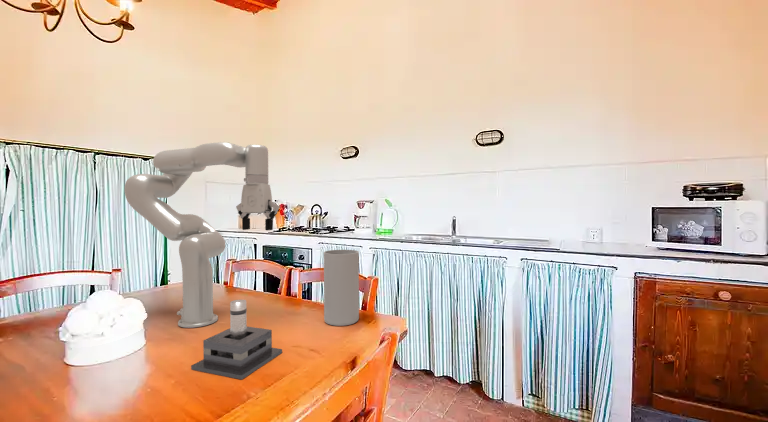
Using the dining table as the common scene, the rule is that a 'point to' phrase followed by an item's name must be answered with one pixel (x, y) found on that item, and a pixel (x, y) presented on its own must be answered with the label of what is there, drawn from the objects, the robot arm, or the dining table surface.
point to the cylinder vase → (341, 287)
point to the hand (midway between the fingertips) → (257, 229)
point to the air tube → (238, 319)
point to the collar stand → (237, 353)
